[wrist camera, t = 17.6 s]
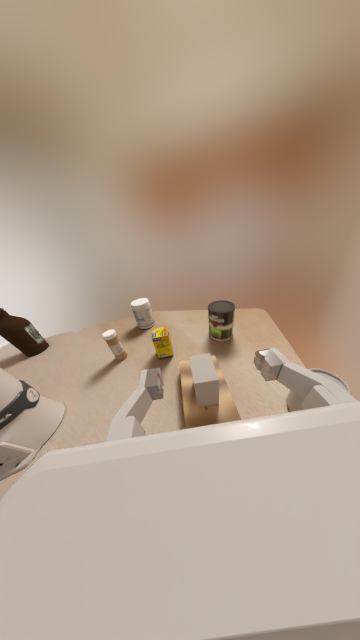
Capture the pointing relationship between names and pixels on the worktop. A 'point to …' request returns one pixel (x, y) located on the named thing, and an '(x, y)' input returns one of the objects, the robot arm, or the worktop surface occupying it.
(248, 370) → the worktop surface
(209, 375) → the block
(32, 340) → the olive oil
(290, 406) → the can
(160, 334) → the supplement box
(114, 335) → the sprinkles bottle
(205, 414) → the plank
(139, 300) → the supplement tub
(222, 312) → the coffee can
